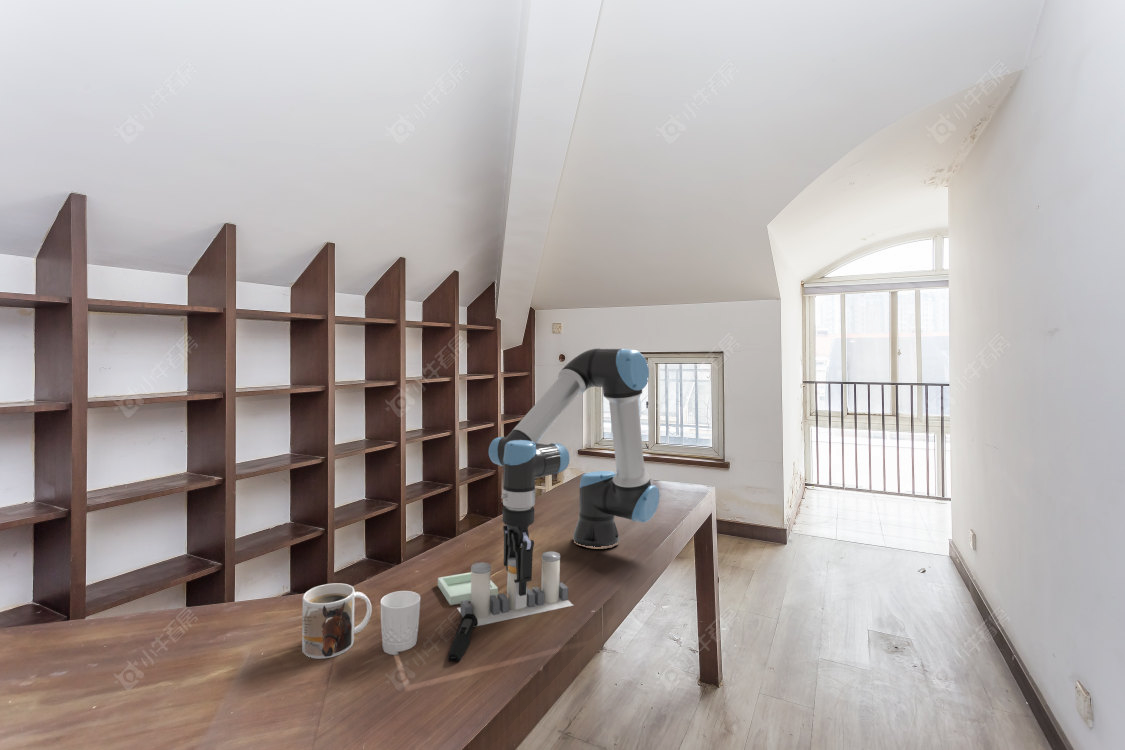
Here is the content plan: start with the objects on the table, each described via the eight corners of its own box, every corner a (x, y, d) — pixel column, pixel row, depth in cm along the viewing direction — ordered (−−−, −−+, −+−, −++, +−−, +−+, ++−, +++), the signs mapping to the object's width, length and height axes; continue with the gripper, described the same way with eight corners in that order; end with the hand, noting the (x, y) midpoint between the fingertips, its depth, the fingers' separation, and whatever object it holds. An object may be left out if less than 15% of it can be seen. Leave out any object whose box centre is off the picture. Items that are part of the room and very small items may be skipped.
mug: (318, 630, 116) (318, 580, 116) (373, 633, 116) (373, 582, 116) (292, 658, 106) (293, 602, 105) (352, 660, 105) (353, 605, 105)
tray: (482, 580, 144) (482, 570, 144) (497, 599, 134) (498, 588, 134) (437, 588, 139) (437, 577, 139) (450, 608, 128) (450, 596, 128)
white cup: (389, 661, 106) (390, 611, 105) (373, 644, 111) (374, 597, 111) (426, 648, 111) (427, 600, 110) (409, 632, 117) (410, 587, 116)
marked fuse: (521, 600, 132) (522, 555, 131) (528, 608, 128) (529, 562, 127) (504, 604, 130) (505, 558, 129) (510, 612, 126) (512, 565, 125)
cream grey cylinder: (553, 594, 136) (555, 550, 135) (562, 601, 132) (563, 556, 131) (537, 597, 134) (538, 553, 133) (545, 605, 130) (546, 559, 129)
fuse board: (555, 591, 139) (555, 577, 139) (574, 608, 130) (574, 593, 130) (456, 611, 127) (456, 595, 127) (469, 631, 118) (469, 614, 118)
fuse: (486, 607, 127) (487, 561, 127) (492, 616, 123) (493, 568, 123) (467, 611, 125) (468, 564, 125) (473, 620, 121) (474, 571, 121)
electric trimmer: (442, 668, 104) (442, 652, 104) (462, 622, 120) (462, 609, 119) (461, 669, 104) (462, 654, 104) (478, 623, 119) (479, 610, 119)
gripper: (491, 498, 134) (489, 591, 134) (518, 518, 118) (515, 622, 119) (519, 495, 137) (517, 585, 138) (548, 514, 122) (546, 615, 123)
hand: (516, 602), depth 128 cm, fingers closed on marked fuse, 4 cm apart
